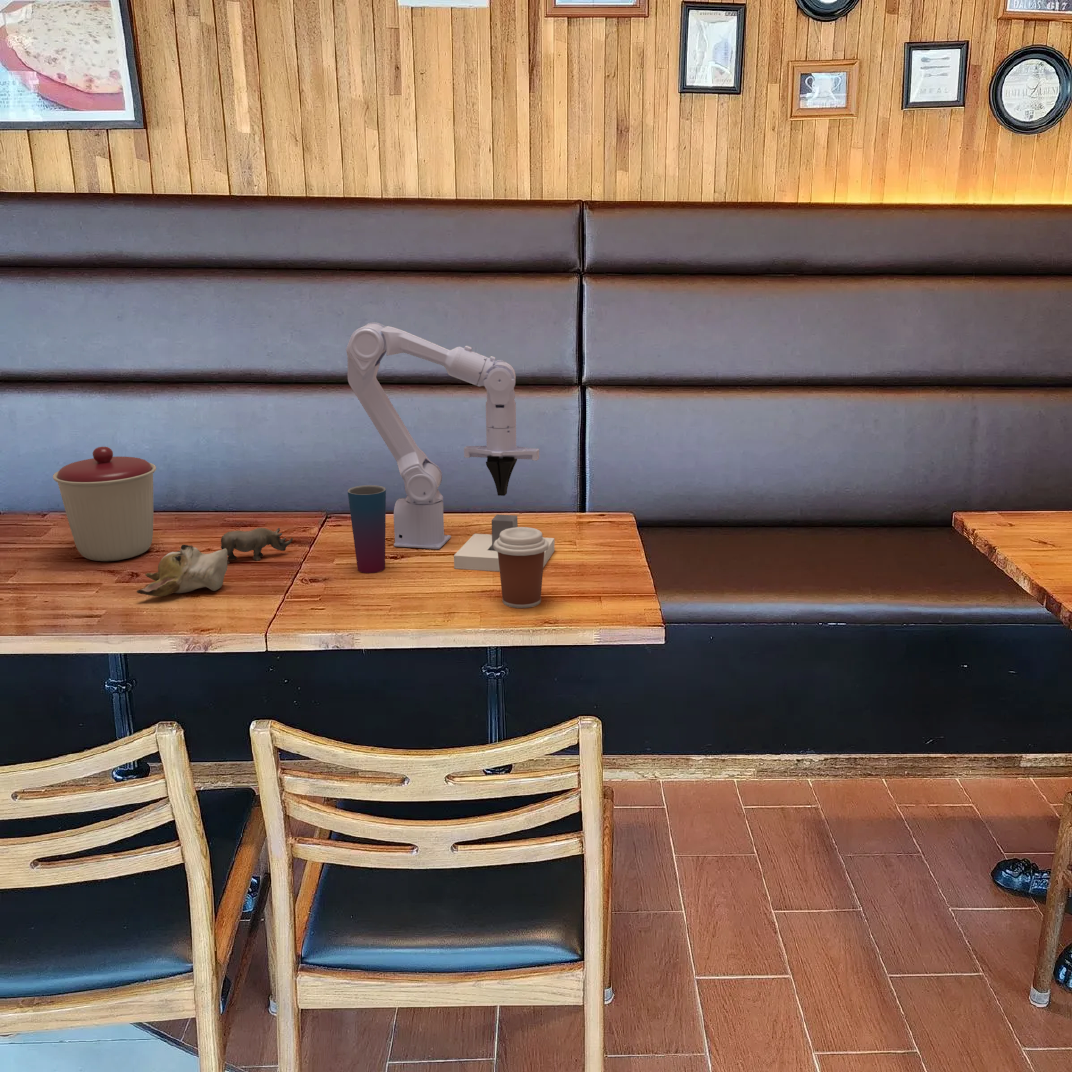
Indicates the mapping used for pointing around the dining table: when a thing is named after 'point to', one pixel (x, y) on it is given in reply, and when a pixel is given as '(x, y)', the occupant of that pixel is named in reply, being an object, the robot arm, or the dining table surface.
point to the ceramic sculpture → (187, 572)
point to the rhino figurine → (252, 542)
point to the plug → (502, 525)
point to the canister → (108, 505)
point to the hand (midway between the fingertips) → (502, 494)
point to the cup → (368, 526)
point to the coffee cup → (521, 565)
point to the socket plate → (485, 554)
